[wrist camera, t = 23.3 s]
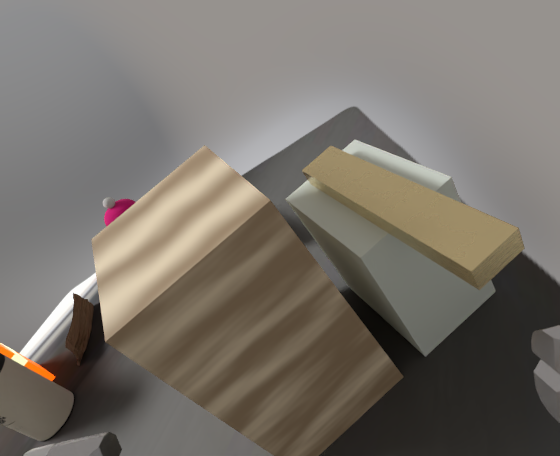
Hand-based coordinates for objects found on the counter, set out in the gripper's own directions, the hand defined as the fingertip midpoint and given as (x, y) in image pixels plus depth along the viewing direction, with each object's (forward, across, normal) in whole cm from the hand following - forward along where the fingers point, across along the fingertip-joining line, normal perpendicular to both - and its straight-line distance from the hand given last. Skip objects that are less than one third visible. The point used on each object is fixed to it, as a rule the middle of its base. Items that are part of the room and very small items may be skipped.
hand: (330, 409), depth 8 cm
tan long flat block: (+28, -10, +4) cm, 29 cm away
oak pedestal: (+36, 0, +23) cm, 43 cm away
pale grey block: (+38, -14, +17) cm, 44 cm away
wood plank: (+70, +39, +26) cm, 84 cm away
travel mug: (+55, +42, +33) cm, 76 cm away
